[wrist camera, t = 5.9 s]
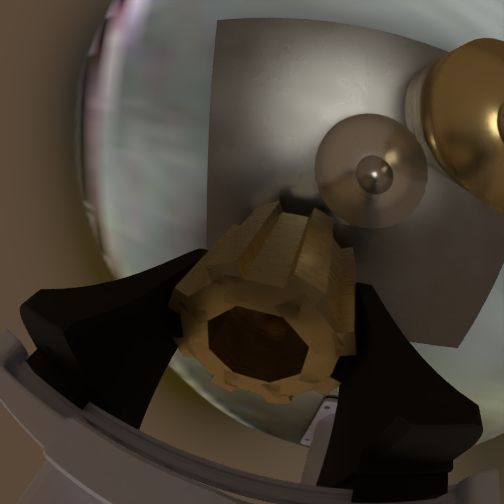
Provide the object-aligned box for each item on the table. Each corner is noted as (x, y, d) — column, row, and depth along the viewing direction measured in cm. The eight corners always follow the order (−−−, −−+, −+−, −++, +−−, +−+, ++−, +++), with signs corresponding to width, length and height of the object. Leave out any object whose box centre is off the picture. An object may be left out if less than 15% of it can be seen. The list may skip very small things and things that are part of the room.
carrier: (454, 337, 14) (474, 414, 9) (214, 288, 17) (164, 358, 12) (529, 101, 6) (604, 111, 1) (225, 25, 10) (152, -17, 5)
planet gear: (335, 327, 13) (324, 414, 9) (225, 301, 14) (179, 374, 10) (368, 218, 10) (383, 292, 6) (228, 192, 11) (160, 243, 7)
